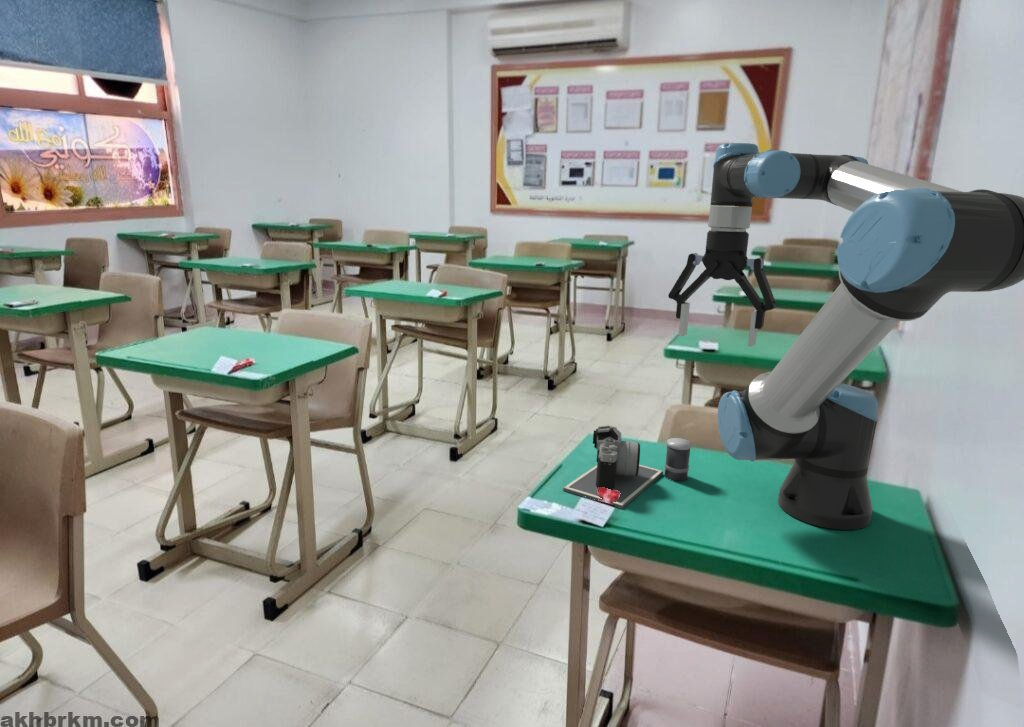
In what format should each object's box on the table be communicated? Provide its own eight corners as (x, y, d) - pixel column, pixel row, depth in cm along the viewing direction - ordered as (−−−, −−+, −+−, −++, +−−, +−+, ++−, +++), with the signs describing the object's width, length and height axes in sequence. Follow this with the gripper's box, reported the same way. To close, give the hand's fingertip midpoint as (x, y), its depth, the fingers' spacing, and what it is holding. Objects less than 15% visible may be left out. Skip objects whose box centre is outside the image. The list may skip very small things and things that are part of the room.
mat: (662, 474, 130) (663, 471, 129) (622, 509, 114) (622, 505, 114) (608, 459, 136) (608, 456, 136) (563, 490, 121) (563, 487, 121)
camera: (637, 498, 117) (642, 446, 115) (588, 492, 119) (591, 441, 116) (636, 464, 132) (640, 418, 130) (592, 460, 134) (595, 414, 131)
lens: (691, 476, 129) (694, 441, 128) (683, 483, 125) (686, 448, 124) (668, 470, 132) (672, 436, 130) (660, 477, 128) (663, 442, 126)
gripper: (802, 233, 119) (787, 346, 124) (672, 226, 132) (662, 328, 137) (794, 234, 113) (778, 352, 118) (658, 227, 126) (649, 333, 131)
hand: (716, 340), depth 128 cm, fingers open, 13 cm apart
